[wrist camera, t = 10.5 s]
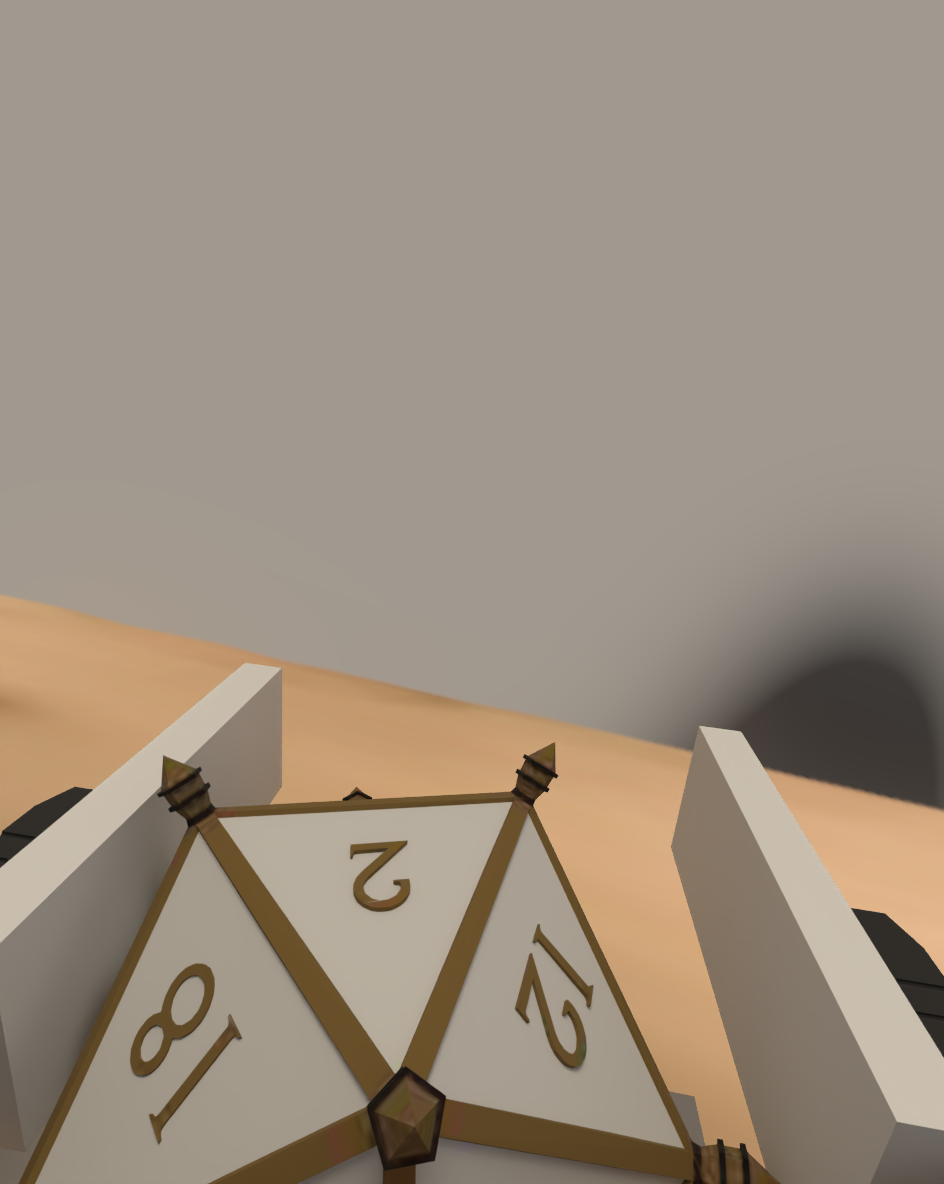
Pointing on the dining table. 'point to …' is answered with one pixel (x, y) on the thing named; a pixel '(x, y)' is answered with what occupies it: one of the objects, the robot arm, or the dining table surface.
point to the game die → (369, 1011)
